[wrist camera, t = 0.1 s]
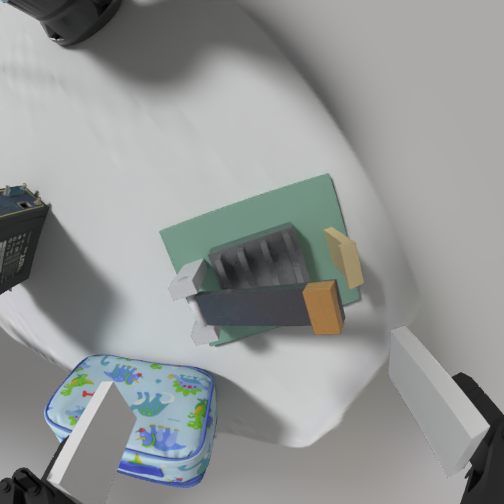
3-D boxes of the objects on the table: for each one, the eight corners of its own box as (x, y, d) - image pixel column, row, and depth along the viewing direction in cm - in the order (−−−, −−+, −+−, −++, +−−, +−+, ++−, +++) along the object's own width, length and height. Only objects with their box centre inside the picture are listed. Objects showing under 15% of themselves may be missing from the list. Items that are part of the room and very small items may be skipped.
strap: (198, 290, 32) (186, 299, 30) (336, 276, 23) (330, 289, 21) (212, 321, 33) (202, 332, 31) (345, 319, 24) (340, 333, 22)
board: (161, 230, 38) (134, 248, 28) (327, 173, 36) (353, 173, 27) (211, 342, 43) (202, 383, 33) (357, 296, 41) (384, 327, 31)
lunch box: (96, 386, 46) (53, 458, 26) (82, 344, 43) (24, 416, 23) (220, 405, 47) (210, 500, 26) (218, 363, 44) (204, 468, 24)
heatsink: (211, 247, 38) (205, 259, 32) (289, 221, 37) (296, 229, 32) (236, 311, 40) (234, 331, 35) (309, 288, 39) (318, 304, 34)
